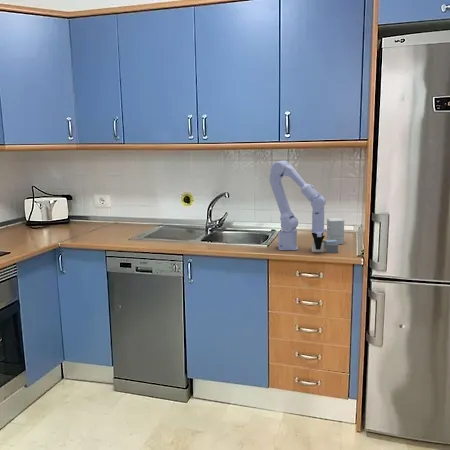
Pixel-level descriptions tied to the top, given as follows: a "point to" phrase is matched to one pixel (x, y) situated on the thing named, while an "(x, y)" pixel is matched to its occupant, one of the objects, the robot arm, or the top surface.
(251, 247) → the top surface
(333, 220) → the supplement box
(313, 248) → the light grey brick
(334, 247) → the charcoal brick
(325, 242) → the blue brick
